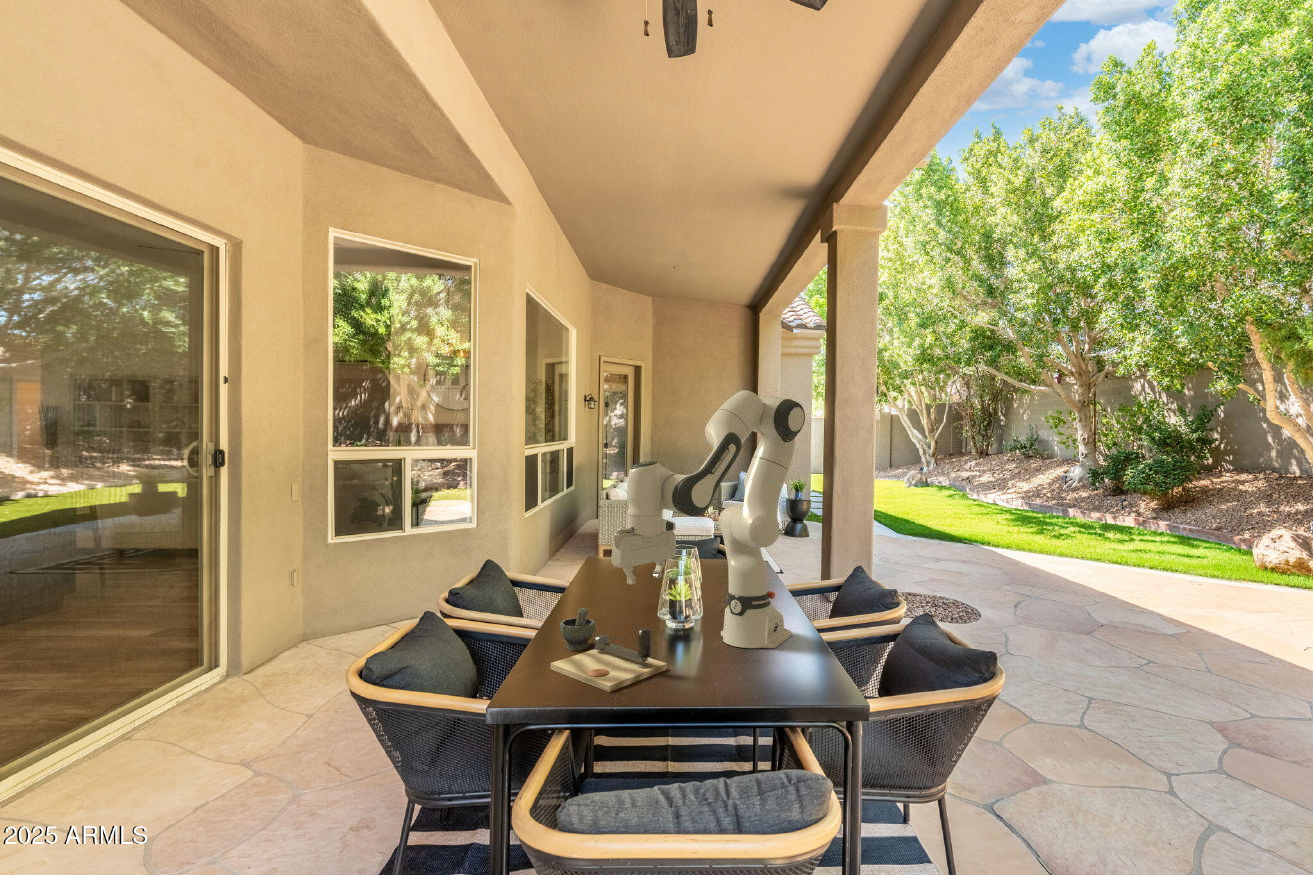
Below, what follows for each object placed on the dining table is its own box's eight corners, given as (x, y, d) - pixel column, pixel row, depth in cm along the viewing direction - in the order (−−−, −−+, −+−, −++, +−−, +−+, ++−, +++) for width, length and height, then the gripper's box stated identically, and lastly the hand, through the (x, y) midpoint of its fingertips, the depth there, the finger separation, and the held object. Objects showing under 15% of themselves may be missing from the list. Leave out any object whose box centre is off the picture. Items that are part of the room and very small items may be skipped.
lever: (602, 644, 174) (602, 615, 174) (654, 661, 161) (654, 629, 161) (591, 647, 171) (591, 618, 171) (643, 665, 158) (643, 633, 158)
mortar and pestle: (556, 643, 182) (556, 602, 183) (587, 639, 186) (587, 598, 186) (567, 655, 172) (567, 611, 172) (600, 651, 176) (600, 607, 176)
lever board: (608, 650, 177) (608, 644, 177) (666, 669, 162) (666, 662, 162) (550, 669, 162) (550, 662, 162) (609, 692, 147) (609, 684, 147)
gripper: (623, 531, 151) (623, 589, 151) (679, 523, 166) (680, 576, 166) (605, 528, 155) (605, 585, 155) (662, 521, 170) (662, 572, 170)
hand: (644, 580), depth 160 cm, fingers open, 8 cm apart
